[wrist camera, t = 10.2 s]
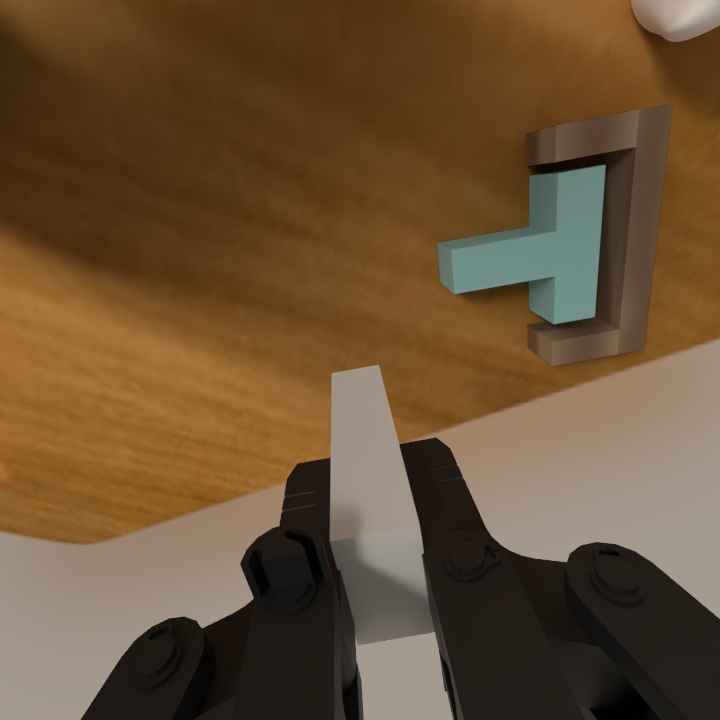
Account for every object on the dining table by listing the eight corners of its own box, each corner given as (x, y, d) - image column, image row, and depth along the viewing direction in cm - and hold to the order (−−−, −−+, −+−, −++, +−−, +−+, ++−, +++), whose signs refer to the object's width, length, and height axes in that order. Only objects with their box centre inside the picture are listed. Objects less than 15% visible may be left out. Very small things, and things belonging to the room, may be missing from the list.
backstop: (527, 347, 34) (551, 366, 30) (526, 134, 27) (556, 125, 24) (609, 332, 34) (643, 349, 30) (627, 115, 27) (673, 102, 24)
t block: (444, 324, 33) (457, 341, 29) (432, 193, 29) (447, 193, 25) (565, 302, 32) (594, 317, 29) (570, 168, 28) (605, 164, 25)
